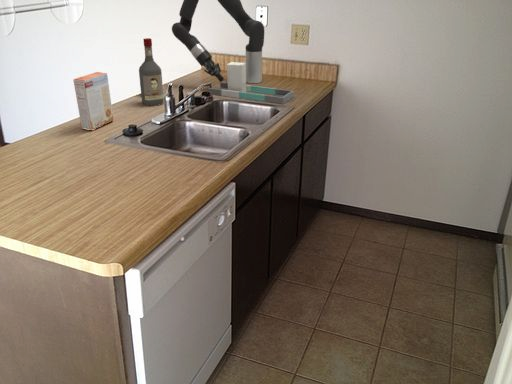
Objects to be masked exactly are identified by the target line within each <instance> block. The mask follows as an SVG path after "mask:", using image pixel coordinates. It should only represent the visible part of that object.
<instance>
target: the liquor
mask: <svg viewBox="0 0 512 384" xmlns="http://www.w3.org/2000/svg"><path fill="white" fill-rule="evenodd" d="M152 41H153V40H152V38H150V37H148V38H143V47H144V48H143V49H144V61H143V62H142V64H141V65H140V66H139V68H138V75H139V76H138V77H139V85H140V97H141V102H142V104H143V103H144V104H143V105H144V106H146V105H156V106H159V105H158V104H161V105H162V103H163V104H164V102H165V101H164V100H165V99H164V90H163V89H164V88H163V76H162V68H161V67H160V66H159V65H158V64H157V62H155V60H154V58H153V57H154V55H153V44H152V43H153V42H152Z"/></svg>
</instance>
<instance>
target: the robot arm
mask: <svg viewBox="0 0 512 384" xmlns="http://www.w3.org/2000/svg"><path fill="white" fill-rule="evenodd" d="M217 1H218V3H219V4H220V6H221V7H222V8H223V9H224V10H225V11H226V12H227V14H229V16H230V17H232V19H233V20H234V21H235V22H236V24H238V25H237V26H239V28H240V29H241V30H242V32H243V34H244V35H245V36H246V37H249V38H248V43H247V44H246V45H245V65H246V83H248V84H258V83H261V82H262V78H263V77H262V76H263V75H262V71H263V69H262V68H263V47H264V44H265V26H264V24H263V23H262V21H259V20H255V19H254V18H252V17H251V16H250V15H249V14H248V13H247V12H246V10H245V9H244V7H243V3H242V1H241V0H217ZM199 2H200V1H199V0H183V2H182V4H181V7H180V10H179V13H178V14H179V15H178V16H180V19H179V21H178V22H174V23H173V24H172V26H171V32H172V34H173V36H174V37H175V38H176V39H177V40H178V41H180V42H181V43H182V44H183V45H184V46H185V47H186V48H187V50H188V51H189V52H190V54H191V55H192V57H193V58H194V59H195V61H197V63H198V64H199V65H200V66H201V67H204V70H203V71H204V72H205V73H207V74H208V75H209V76H211V77H216V79H217V80H218V81H219V82H223V81H224V80H225V77H223V75H222V74H221V73H222V72H221V71H222V70H221V67H220V63H218V62H217V63H215V61H214V60H213V56H212V55H211V53H210V52H209V51H208V49H206V47H205V46H204V45H203V44H202V43H201V42H200V41H199V39H198V38H197V37H196V36H194V35H192V34H191V32H190V31H191V29H192V23H193V17H194V15H195V12H196V9H197V6H198V3H199Z"/></svg>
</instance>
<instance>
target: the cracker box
mask: <svg viewBox="0 0 512 384" xmlns="http://www.w3.org/2000/svg"><path fill="white" fill-rule="evenodd" d="M73 86H74V91H75V97H76V103H77V108H78V109H77V110H78V115H79V120H80V124H81V125H80V127H81V129H82V128H87V129H95V128H97V127H99V126H102V125H104V124H106V123H109V122H111V121H113V120H114V113H113V106H112V99H111V92H110V84H109V78H108V73H107V72H100V71H96V72H92V73H90V74H86V75H83V76H79V77H76V78H73ZM113 122H114V121H113ZM111 123H112V122H111ZM109 124H110V123H109Z"/></svg>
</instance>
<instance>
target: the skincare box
mask: <svg viewBox="0 0 512 384" xmlns="http://www.w3.org/2000/svg"><path fill="white" fill-rule="evenodd" d="M226 74H227V75H226V78H227V79H226V80H227V83H228V90H230V91H238V92H246V93H247V91H246V85H247V82H246V62H240V61H239V62H238V61H237V62H235V61H231V62H229V63H227V64H226Z"/></svg>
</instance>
